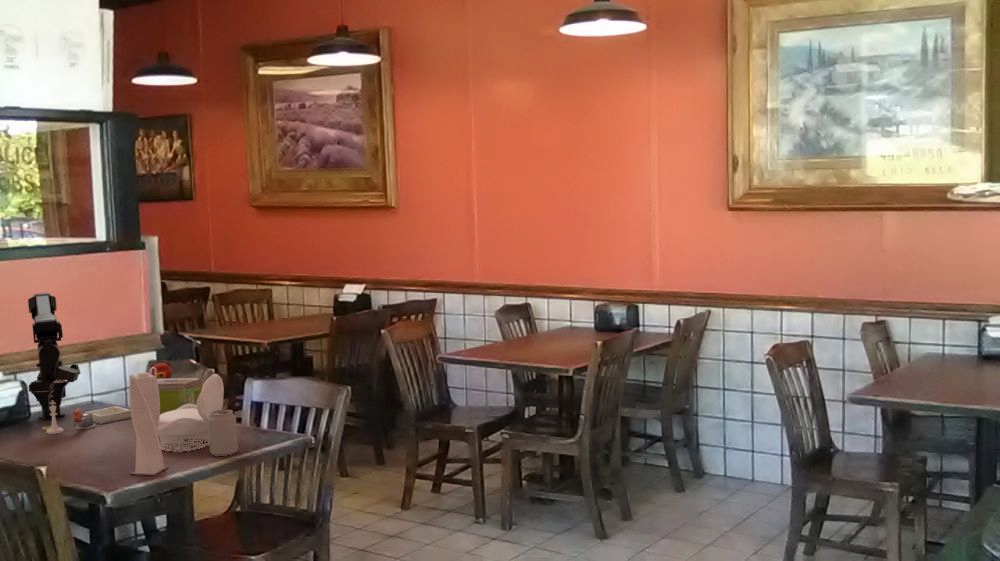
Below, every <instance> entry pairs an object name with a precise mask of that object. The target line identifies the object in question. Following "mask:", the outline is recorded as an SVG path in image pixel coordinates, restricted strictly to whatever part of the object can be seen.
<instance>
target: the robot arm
mask: <svg viewBox="0 0 1000 561" xmlns="http://www.w3.org/2000/svg"><path fill="white" fill-rule="evenodd" d="M56 299H57V298H56V296H53V295H51V293H48V292H41V293H35V294H33V296H32V297H29V298H28V299H27V303H28V304H27V305H28V313H29V314H31V319H32V320H33V321H34V322H33V323H31V325H32V335H33V344H37V355H38V362H37V363H36V368H39V372H38V374H37V376H36V380H34V381H32V382H30V383H29V384H28V392H30V393H31V394H32V395H33V396H34V397H35V399H36V402H38V404H39V406H41V414H38V415H37V417H38V418H41V419H44V420H49V419H50V420H52V415H50V414H51V413H52V412H51V410H50V408H49V407H50V406H52V404H50V402H51V401H52V400H53V402H56V404H54V406H56V411H55V413H57V415H55V417H56V418H60V417H65V416H66V414H65V413H62V412H61V405H62V401H63V400H62V399H65V398H66V397H67V394H66V387H67V385H68V384H70V383H74V382H75V381H77V380H78V378H79V375H81V369H80V366H79V364H78V363H72V364H71V365H70V366H69V365H64V364H63V361H62V360H60V354H61V352H60V350H59V346H58V344H59V343H58V342H60V341H62V339H63V337H64V335H63V327H62V324H61V321H60V320H57V316H56V315H55V312H56V311H57V300H56Z"/></svg>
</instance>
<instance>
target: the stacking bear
mask: <svg viewBox="0 0 1000 561" xmlns="http://www.w3.org/2000/svg"><path fill="white" fill-rule="evenodd" d="M151 367H155V368H156V369H157V374H156V377H157V379H169V378H172V374H173V371H172V364H171V362H165V363H163V362H159V363H156V364H155V363H151V364H150V365H149V369H151ZM151 375H153V376H155V369H154V368H153V369H152V373H151Z"/></svg>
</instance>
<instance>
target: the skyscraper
mask: <svg viewBox="0 0 1000 561" xmlns="http://www.w3.org/2000/svg"><path fill="white" fill-rule="evenodd" d="M153 368H154V369H155V376H153V375H151V373H152V369H153ZM149 369H150V368H149ZM156 374H157V369H156V368H155V367H151V369H150V370H149V372H145V371H143V372H137V375H134V374H130V375H129V383H128V384H129V387H128V388H129V390H128V391H129V394H128V395H129V407H130V409H129V410H131V417H132V418H131V421H132V425H133V428H134V432H135V436H136V439H135V440H136V441H135V442H136V443H135V470H134V471H132V472H130V473H129V475H130V474H132V473H133V474H153V475H155V474H156V473H158V472H160V471H161V470H164V469H166V468H168V469H169V466H165V463H164V456H163V452H162V449H161V440H160V437H159V435H158V433H157V431H158V425H159V418H160V396H159V389H158V382H157V377H156ZM166 470H167V469H166ZM164 471H165V470H164ZM160 473H161V472H160ZM155 476H156V475H155Z"/></svg>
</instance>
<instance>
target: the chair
mask: <svg viewBox="0 0 1000 561" xmlns="http://www.w3.org/2000/svg"><path fill="white" fill-rule="evenodd" d="M224 388H225V387H224V382H223V379H222V377H221V376H220V375H219V374H217V373H213V374H211V375H210V376H209V377H208V378H207V379H206V380H204V382H203V384H202V391H201V393H200V395H199V397H198V400H197V405H195V404H185V405H183V406H181V407H179V408H178V409H176V410H173V411H169V412H165V413H163V414H161V415H160V418H159V425H158V431H157V433H158V437H159V441H160V446H162V445H163V446H164V447H165V446H166V447H167V448H168V444H167V445H166V444H165V443H170V444H172V443H173V442H174V441H175V440H176V441H178V439H181V441H180V443H181V442H182V440H183V439H184V438H185V439H186V438H188V439H189V438H190V439H191V438H193V440H190V439H189V440H188V441H190V442H191V441H192V442H194V441H197V442H198V441H200V442H201V443H202V445H204V446H202V445H201V443H200V442H199V444H198V445H199V446H200V445H201V446H200V447H197V446H198V445H197V443H196V444H195V442H194V443H191V444H190V446H191V445H192V444H193V449H191V448H190V446H189V445H184V446H186V449H185V447H184V446H183V450H181V449H180V447H181V446H180V443H178V442H179V441H178V442H177V443H178V445H179V447H178V446H176V444H177V443H176V441H175V442H174V443H176V444H175V445H174V443H173V444H172V445H174V450H175V451H174V450H173V449H172V446H170V445H169V449H167V448H166V447H165V448H164V447H163V446H162V447H161V451H162V450H163V451H164V450H165V449H166V450H165V452H169V451H172V450H173V451H172V452H171V453H184V452H183V451H187V452H192V451H191V450H193V451H197V450H196V449H198V450H201V449H203V447H204V448H206V447H205V446H206V444H208V446H210V445H209V441H208V439H209V429H208V418H209V417H210V413H211V412H213V411H217V410H223V406H224V393H225V389H224ZM190 406H191V408H192V409H190ZM193 406H194V407H193ZM187 407H189V409H187ZM184 408H185V409H184ZM195 408H196V409H195ZM194 437H195V438H199V439H200V438H201V440H202V438H203V440H204V439H205V441H204V442H205V444H203V440H202V441H201V440H199V439H198V440H197V439H196V440H195V439H194ZM171 441H172V443H171ZM188 441H186V442H183V443H185V444H187V442H188ZM206 441H207V442H208V443H206ZM190 442H189V443H190ZM183 443H182V444H181V445H183ZM189 443H188V444H189ZM194 444H195V445H196V447H197V448H196V447H195V448H194ZM175 446H176V447H177V448H176V449H175ZM170 447H171V449H172V450H171V449H170ZM187 447H188V448H187ZM200 448H201V449H200ZM189 449H191V450H189ZM176 450H178V451H176ZM179 450H181V451H179Z"/></svg>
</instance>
